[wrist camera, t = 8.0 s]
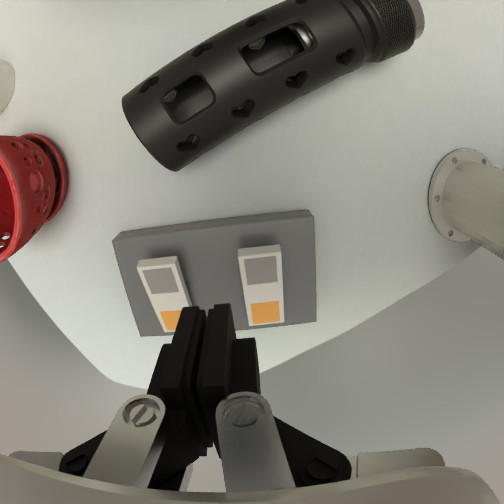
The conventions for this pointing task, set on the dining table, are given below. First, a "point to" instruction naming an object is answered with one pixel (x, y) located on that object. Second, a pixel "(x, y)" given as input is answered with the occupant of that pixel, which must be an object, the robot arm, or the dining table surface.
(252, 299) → the rocker
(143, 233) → the switch panel
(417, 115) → the dining table surface
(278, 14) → the muzzle brake
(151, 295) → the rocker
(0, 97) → the cup
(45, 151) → the plant pot
